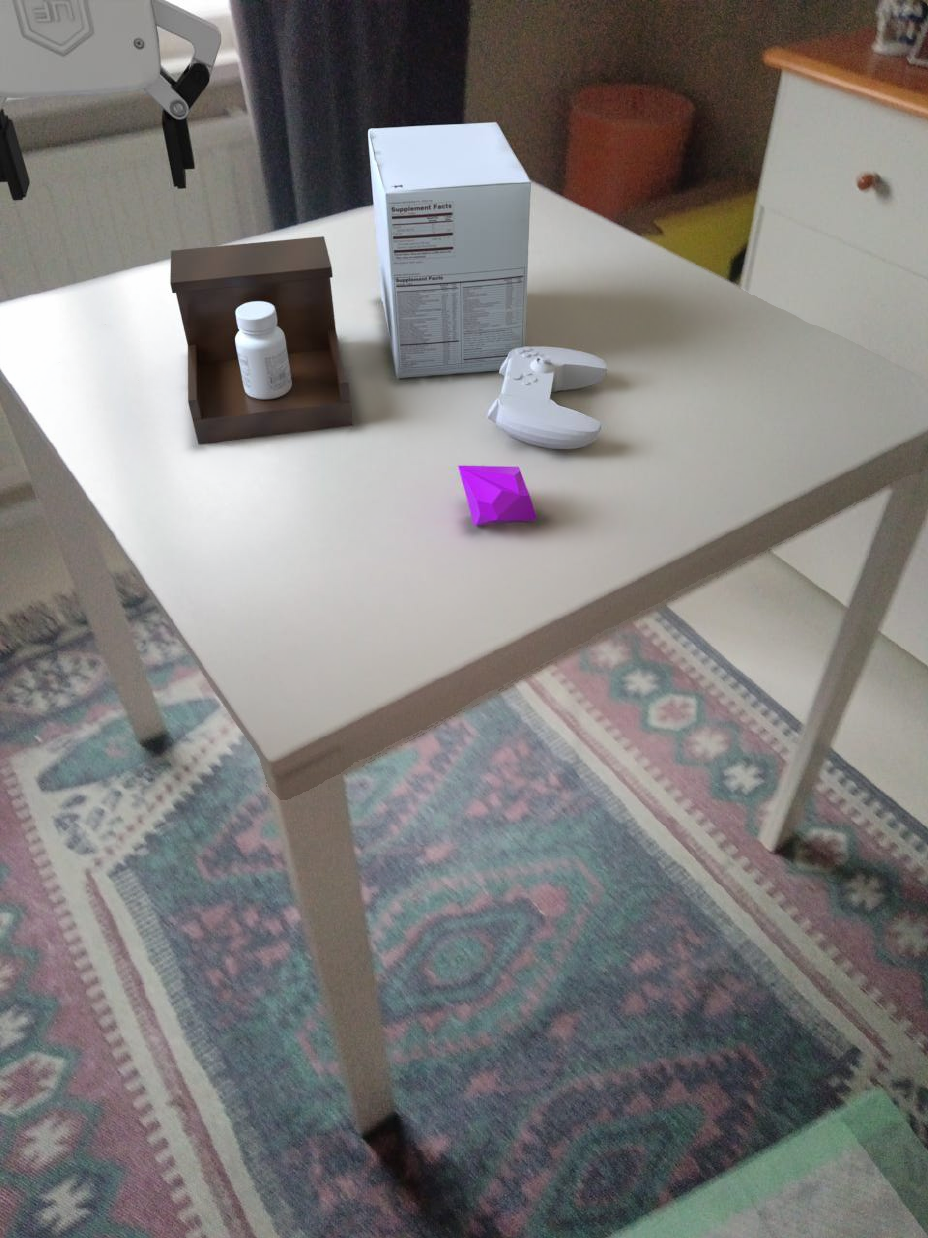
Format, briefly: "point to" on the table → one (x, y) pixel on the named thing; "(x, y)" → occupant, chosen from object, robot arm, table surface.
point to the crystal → (496, 494)
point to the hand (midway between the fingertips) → (102, 186)
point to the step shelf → (304, 314)
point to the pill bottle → (262, 351)
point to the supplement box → (450, 245)
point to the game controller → (546, 396)
